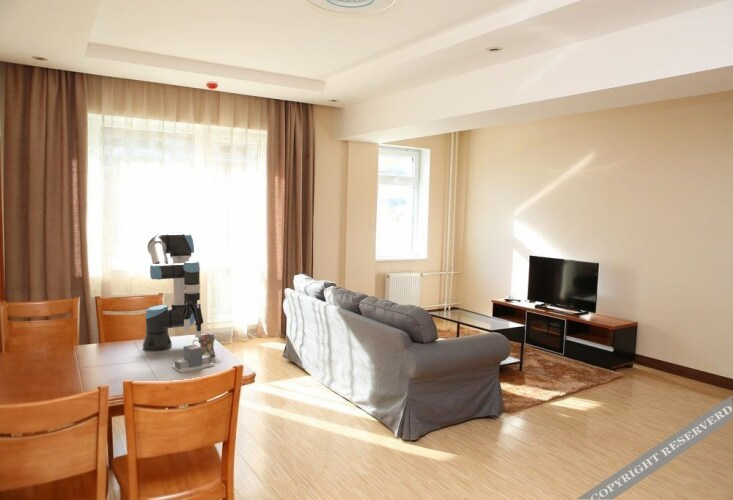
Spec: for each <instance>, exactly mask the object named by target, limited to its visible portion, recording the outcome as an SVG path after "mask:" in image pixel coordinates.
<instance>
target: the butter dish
mask: <svg viewBox="0 0 733 500" xmlns="http://www.w3.org/2000/svg"><path fill="white" fill-rule="evenodd" d="M214 366H215V364H214V363H213V362H212V356H209V355H207V354H205V355H203V356H202V366H197V367H192V368H190V361H188V360H186V359H184V358H183V359H178V360H177V359H175V360H174V364H172V365H171V368H172V369H174V370H175V371H177V372H179V373H180V374H182V373H187V372H191V371H196V370H201V369H205V368H210V367H214Z"/></svg>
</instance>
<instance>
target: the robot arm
mask: <svg viewBox="0 0 733 500" xmlns="http://www.w3.org/2000/svg"><path fill="white" fill-rule="evenodd" d="M147 252H148V253H149V255H150V257H151V262H152V264H150V266H149V278H150V279H151V280H158V281H159V280H171V279H173V302H172V303H171V307H169V306H168V305H166V304H160V305H154V306H151V307H148V308H147V309H145V310H146V311H145V337H144V340H143V343H142V349H143V350H145V351H153V352H154V351H156V352H157V351H163V350H167V349H170V348H172V346H173V345H172V344H173V343H172V339H171V337H170V335H169V329H172V328H173V329H174V328H175V329H176V328H183V330H184V331H183V332H184V333H189V332H191V327H192V326H193V325H194V326H195V327H194V331H195V334H194V337H195V339H198V337H201V335H202V325H203V324H204V319H203V313H202V308H201V303H198V301H199V300H200V299H201V293H200V291H201V282H200V270H201V267H200V262H199V261H197V260H190V258H191V257H192V254H193V253H194V252H195V245H194V239H193V236H192V235H191V233H187V232H168V233H167V232H162V233H159V234H157V235H154V236H153V237H152V238H150V240H149V241H148V243H147ZM168 254H169V257H170V259H172V263H169V261H168V256H167V255H168Z"/></svg>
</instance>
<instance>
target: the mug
mask: <svg viewBox="0 0 733 500" xmlns="http://www.w3.org/2000/svg"><path fill="white" fill-rule="evenodd" d="M216 338H217V335H216V334H209V333H206V334H201V337H197V339H194V340H192V345H195V344H194V342H195V341H197V342H198V344H199V345H200V346H199V347H201V348H202V356H203V355H205V354H207V355H209V356H211V357H213V356H215V355H216V351H215V349H214V348H215V347H214V343H215V341H216V340H215V339H216Z"/></svg>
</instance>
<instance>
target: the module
mask: <svg viewBox="0 0 733 500" xmlns="http://www.w3.org/2000/svg"><path fill="white" fill-rule="evenodd" d="M183 359H186V360H188V361H190V368H192V367H197V366H202V348H201V347H200V346H199V345H196V344H194V345H193V344H191V345H185V346H183Z"/></svg>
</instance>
